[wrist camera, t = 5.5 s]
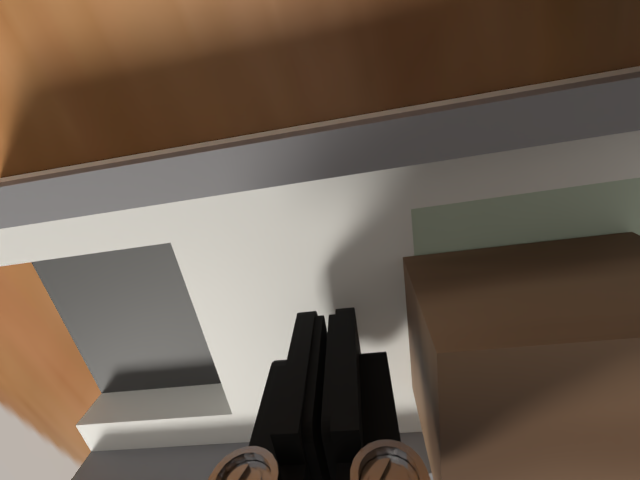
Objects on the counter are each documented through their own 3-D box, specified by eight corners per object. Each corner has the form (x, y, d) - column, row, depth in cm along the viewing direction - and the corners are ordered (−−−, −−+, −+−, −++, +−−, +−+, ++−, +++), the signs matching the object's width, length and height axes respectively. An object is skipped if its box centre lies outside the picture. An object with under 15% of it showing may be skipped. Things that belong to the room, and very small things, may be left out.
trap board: (-2, 178, 12) (-129, 209, 9) (942, 13, 9) (1297, -36, 5) (128, 425, 16) (75, 506, 13) (782, 380, 13) (926, 474, 10)
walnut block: (402, 257, 10) (436, 353, 6) (631, 231, 9) (824, 323, 5) (412, 388, 12) (443, 522, 8) (603, 376, 11) (733, 517, 7)
